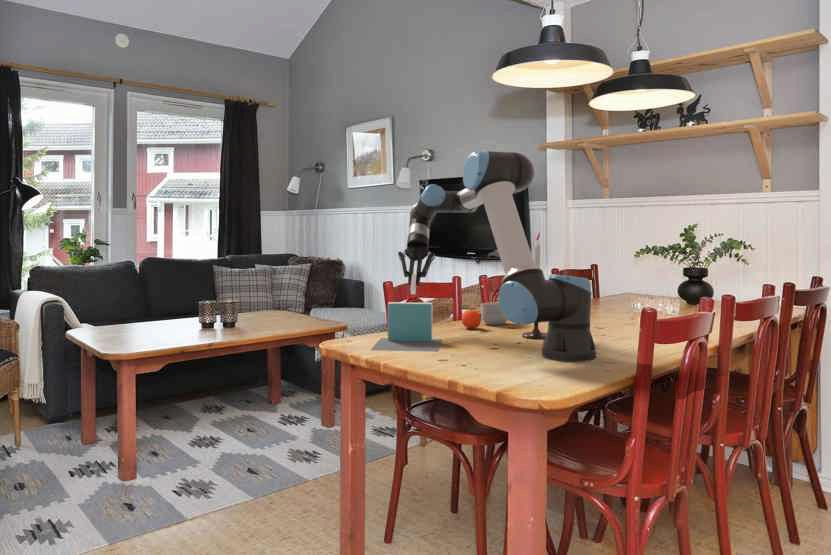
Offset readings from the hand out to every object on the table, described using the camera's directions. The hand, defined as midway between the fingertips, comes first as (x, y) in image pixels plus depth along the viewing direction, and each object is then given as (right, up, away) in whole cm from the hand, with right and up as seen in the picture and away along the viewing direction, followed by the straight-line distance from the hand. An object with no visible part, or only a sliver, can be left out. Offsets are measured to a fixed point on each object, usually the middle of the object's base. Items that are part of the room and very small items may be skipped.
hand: (412, 291), depth 217 cm
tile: (-1, -15, -8) cm, 17 cm away
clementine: (+20, -14, +18) cm, 30 cm away
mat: (-1, -16, -14) cm, 22 cm away
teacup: (+32, -13, +29) cm, 45 cm away
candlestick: (+41, -15, +2) cm, 44 cm away
